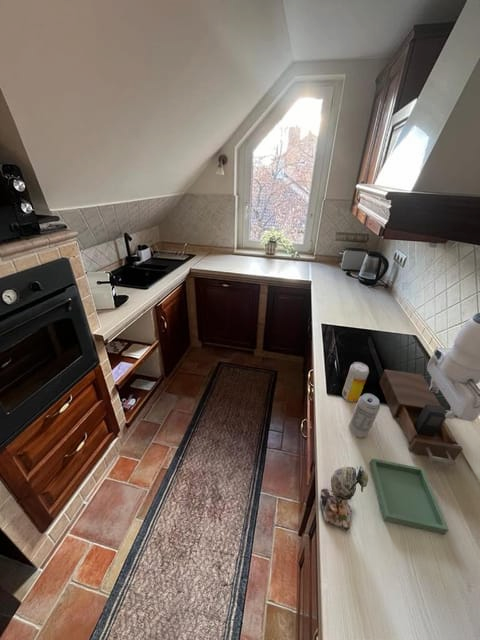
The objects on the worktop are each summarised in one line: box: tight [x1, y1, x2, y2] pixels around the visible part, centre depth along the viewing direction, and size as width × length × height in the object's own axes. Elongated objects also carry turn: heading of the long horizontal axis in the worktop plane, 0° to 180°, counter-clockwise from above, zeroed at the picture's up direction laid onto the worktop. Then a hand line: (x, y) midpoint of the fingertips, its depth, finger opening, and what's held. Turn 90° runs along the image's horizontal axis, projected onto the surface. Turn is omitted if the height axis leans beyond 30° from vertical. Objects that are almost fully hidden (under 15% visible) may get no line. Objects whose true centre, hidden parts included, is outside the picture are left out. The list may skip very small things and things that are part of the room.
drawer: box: [397, 406, 464, 467], centre depth 80 cm, size 21×12×5 cm, turn 169°
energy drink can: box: [348, 392, 381, 438], centre depth 80 cm, size 6×6×15 cm
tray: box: [369, 458, 449, 535], centre depth 67 cm, size 14×15×2 cm
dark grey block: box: [413, 404, 447, 437], centre depth 79 cm, size 5×3×11 cm, turn 79°
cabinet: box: [378, 369, 442, 420], centre depth 93 cm, size 18×14×7 cm
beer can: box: [341, 361, 370, 403], centre depth 93 cm, size 6×6×15 cm
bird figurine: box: [319, 465, 369, 532], centre depth 60 cm, size 8×11×20 cm
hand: (439, 403), depth 75 cm, fingers open, 8 cm apart
